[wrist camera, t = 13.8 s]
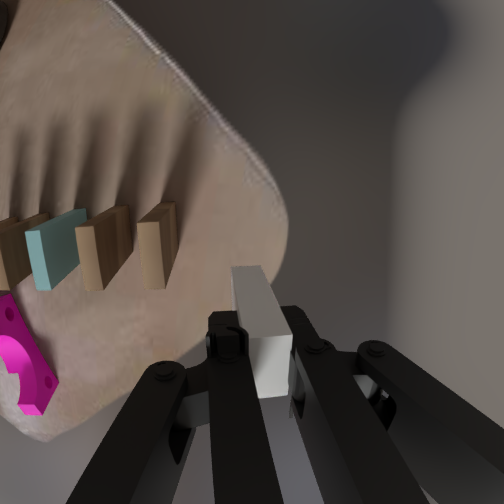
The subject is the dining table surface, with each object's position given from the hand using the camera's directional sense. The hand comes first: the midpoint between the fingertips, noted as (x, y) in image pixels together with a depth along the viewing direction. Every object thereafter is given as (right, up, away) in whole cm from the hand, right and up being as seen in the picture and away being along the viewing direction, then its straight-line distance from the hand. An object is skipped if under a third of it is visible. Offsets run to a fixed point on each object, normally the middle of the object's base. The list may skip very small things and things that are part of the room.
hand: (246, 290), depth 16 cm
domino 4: (-8, +5, +14) cm, 17 cm away
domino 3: (-13, +4, +14) cm, 20 cm away
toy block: (-33, -11, +16) cm, 38 cm away
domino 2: (-18, +4, +13) cm, 23 cm away
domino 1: (-23, +4, +13) cm, 26 cm away
